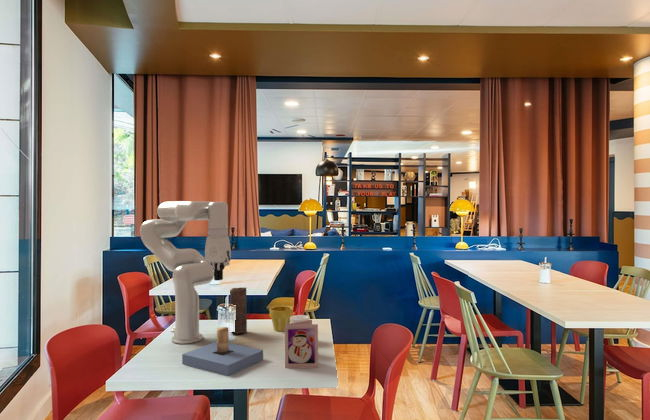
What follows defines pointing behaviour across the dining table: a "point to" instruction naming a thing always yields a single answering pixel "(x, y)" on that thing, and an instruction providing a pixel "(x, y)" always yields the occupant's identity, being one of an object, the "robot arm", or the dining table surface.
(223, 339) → the leg peg
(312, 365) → the greeting card
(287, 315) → the plant pot
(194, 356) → the board
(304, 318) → the white cup
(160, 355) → the dining table surface
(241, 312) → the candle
